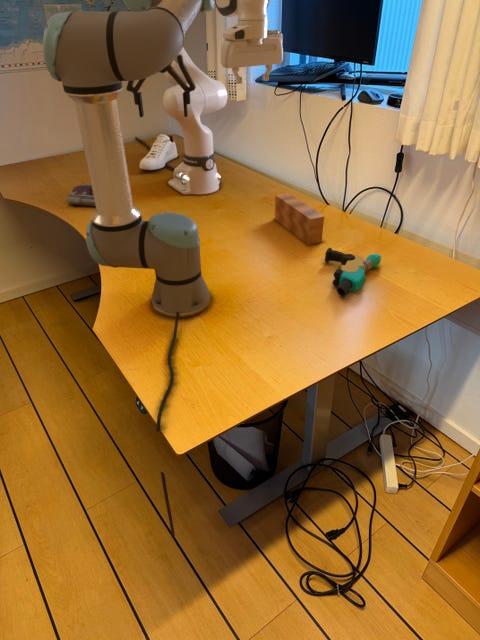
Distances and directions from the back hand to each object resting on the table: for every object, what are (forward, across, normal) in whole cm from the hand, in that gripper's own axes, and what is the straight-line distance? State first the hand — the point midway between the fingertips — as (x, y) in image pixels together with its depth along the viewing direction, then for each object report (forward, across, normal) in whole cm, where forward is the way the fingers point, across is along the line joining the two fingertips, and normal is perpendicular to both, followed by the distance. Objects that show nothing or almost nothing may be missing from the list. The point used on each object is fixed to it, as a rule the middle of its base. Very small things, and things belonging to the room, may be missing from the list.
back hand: (252, 82), depth 151 cm
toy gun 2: (+42, -1, +56) cm, 70 cm away
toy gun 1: (+42, +51, -34) cm, 75 cm away
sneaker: (+42, +15, -65) cm, 79 cm away
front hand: (+7, +30, -1) cm, 31 cm away
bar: (+42, -5, +24) cm, 49 cm away
